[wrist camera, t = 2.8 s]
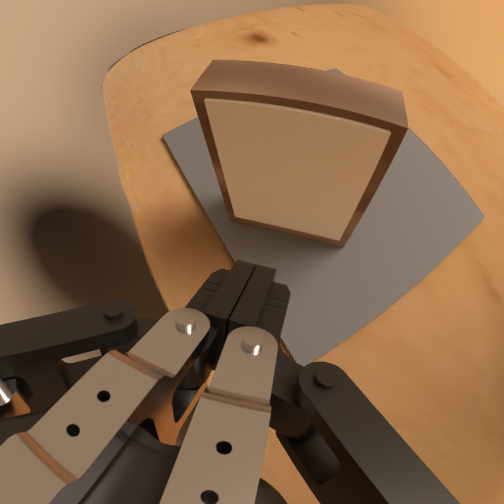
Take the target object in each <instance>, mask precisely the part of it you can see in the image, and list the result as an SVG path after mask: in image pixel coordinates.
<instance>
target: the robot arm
mask: <svg viewBox="0 0 504 504" xmlns="http://www.w3.org/2000/svg"><path fill="white" fill-rule="evenodd" d="M276 270H277V269H274V268H270V267H266V266H262V265H257V264H254V263H250V262H246V261H241V260H237V261H236V263H235V264H234V266H233V267H232V269H231V270H230V271H229V270H225V269H220V270H218V271H216V272H213V273H211V275H210V276H209V277H208V279H207V280H206V282H204V284H203V285H202V286H201V288H200V289H199V290H198V291H197V293H196V294H195V295H194V296H193V298H192V299H191V300H190V302H189V303H188V304H187V306H186V307H185V308H178V309H174V310H171V311H169V312H168V313H166V314H165V315H164V316H163V317H162V318H161V319H160V320H151V319H142V318H136V311H135V309H134V307H133V306H132V305H130V304H129V303H127V302H124V301H118V300H114V301H113V300H112V301H106V302H102V303H98V304H93V305H89V306H85V307H80V308H76V309H71V310H67V311H63V312H58V313H53V314H49V315H45V316H40V317H35V318H30V319H26V320H22V321H16V322H12V323H7V324H2V325H0V504H287V502H286V501H285V500H284V498H283V497H282V496H281V495H280V493H279V492H278V491H277V490H276V489H274V488H273V487H272V486H271V485H270V484H268V483H267V482H266V481H265V480H263V479H261V478H260V473H261V468H262V462H263V457H264V451H265V446H266V440H267V434H268V428H269V427H271V428H273V429H274V430H276V435H277V437H278V439H279V441H280V442H281V444H282V446H283V447H284V449H285V451H286V452H287V454H288V455H289V457H290V459H291V460H292V462H293V463H294V465H295V466H296V468H297V470H298V471H299V473H300V474H301V476H302V477H303V479H304V480H305V482H306V483H307V485H308V486H309V488H310V489H311V491H312V492H313V494H314V495H315V497H316V498H317V499H318V501H319V502H320V504H460V503H459V502H458V501H457V500H456V499H455V497H454V496H453V495H452V494H451V493H450V492H449V491H448V490H447V488H446V487H445V486H444V485H443V484H442V483H441V482H440V481H439V479H438V478H437V477H436V476H435V475H434V474H433V473H432V472H431V470H430V469H429V468H428V467H427V466H426V465H425V464H424V462H423V461H422V460H421V459H420V458H419V457H418V456H417V455H416V453H415V452H414V451H413V450H412V449H411V448H410V447H409V445H408V444H407V443H406V442H405V441H404V440H403V439H402V437H401V436H400V435H399V434H398V433H397V432H396V431H395V429H394V428H393V427H392V426H391V425H390V424H389V423H388V421H387V420H386V419H385V418H384V417H383V416H382V415H381V413H380V412H379V411H378V410H377V409H376V408H375V406H374V405H373V404H372V403H371V402H370V401H369V400H368V398H367V397H366V396H365V395H364V394H363V393H362V391H361V390H360V389H359V388H358V387H357V386H356V385H355V383H354V382H353V381H352V380H351V379H350V378H349V376H348V375H347V374H346V373H345V372H344V371H343V370H342V369H341V368H339V367H338V366H336V365H334V364H331V363H328V362H313V363H310V364H307V365H306V366H302V365H300V364H298V363H296V362H294V361H293V360H291V359H290V358H289V357H287V356H286V355H285V354H284V352H283V351H282V349H281V347H280V336H281V332H282V328H283V324H284V320H285V316H286V311H287V307H288V303H289V299H290V294H291V293H290V291H289V289H288V286H287V285H285V284H281V283H277V282H274V280H275V276H276ZM97 349H100V352H101V355H102V356H98V357H95V358H91V359H88V360H83V361H79V362H75V363H66V362H64V361H62V360H61V359H62V358H65V357H69V356H74V355H78V354H82V353H86V352H89V351H93V350H97ZM212 370H215V372H214V375H213V378H212V381H211V383H210V386H209V388H208V390H204V389H205V387H206V382H207V379H208V377H209V375H210V373H211V371H212ZM202 392H203V393H202ZM201 394H202V395H201ZM200 396H201V397H200ZM199 397H200V400H199V403H198V405H197V407H196V410H195V413H194V416H193V418H192V421H191V423H190V426H189V428H188V431H187V434H186V436H185V439H184V442H183V444H182V447H180V446H175V443H176V440H177V435H178V432H179V430H180V428H181V426H182V425H183V423H184V421H185V420H186V418H187V417H188V415H189V413H190V412H191V410H192V408H193V407H194V405H195V404H196V402H197V400H198V399H199Z"/></svg>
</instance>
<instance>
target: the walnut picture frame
mask: <svg viewBox="0 0 504 504" xmlns="http://www.w3.org/2000/svg"><path fill="white" fill-rule="evenodd" d="M190 91H191V94H192V98H193V101H194V104H195V108H196V111H197V114H198V118H199V121H200V124H201V128H202V131H203V134H204V138H205V141H206V144H207V147H208V151H209V154H210V157H211V161H212V164H213V167H214V170H215V174H216V177H217V180H218V183H219V187H220V190H221V193H222V196H223V199H224V203H225V206H226V209H227V212H228V215H229V219H230V221H232V222H237V223H241V224H246V225H250V226H255V227H259V228H264V229H268V230H272V231H277V232H281V233H285V234H290V235H294V236H298V237H302V238H307V239H311V240H315V241H319V242H323V243H327V244H331V245H336V246H340V247H344V246H345V244H346V243H347V241H348V239H349V238H350V236H351V234H352V233H353V231H354V229H355V228H356V226H357V224H358V223H359V221H360V219H361V217H362V216H363V214H364V212H365V210H366V209H367V207H368V205H369V203H370V202H371V200H372V198H373V196H374V194H375V193H376V191H377V189H378V187H379V185H380V183H381V181H382V180H383V178H384V176H385V174H386V172H387V170H388V168H389V166H390V164H391V162H392V160H393V159H394V157H395V155H396V153H397V151H398V149H399V147H400V145H401V143H402V140H403V138H404V136H405V134H406V132H407V130H408V123H407V116H406V109H405V103H404V98H403V92H402V91H399V90H396V89H393V88H390V87H387V86H384V85H380V84H377V83H373V82H370V81H366V80H362V79H359V78H355V77H351V76H346V75H342V74H337V73H333V72H328V71H323V70H317V69H312V68H306V67H299V66H292V65H285V64H276V63H266V62H254V61H238V60H213V61H212V62H211V63H210V65H209V66H208V67H207V68H206V70H205V71H204V72H203V74H202V75H201V76H200V78H199V79H198V80H197V82H196V83H195V84H194V86H193V87H192V89H191V90H190Z"/></svg>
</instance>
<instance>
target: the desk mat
mask: <svg viewBox="0 0 504 504" xmlns="http://www.w3.org/2000/svg"><path fill="white" fill-rule="evenodd" d="M328 72H333V73H337V74H342V75H345V74H343V73H342V72H340V71H339V70H337V69H332V70H328ZM162 136H163V138H164V140H165V142H166V144H167V145H168V147H169V149H170V151H171V153H172V154H173V156H174V158H175V160H176V161H177V163H178V165H179V167H180V169H181V170H182V172H183V174H184V176H185V177H186V179H187V181H188V183H189V184H190V186H191V188H192V190H193V191H194V193H195V195H196V197H197V198H198V200H199V202H200V204H201V205H202V207H203V209H204V210H205V212H206V214H207V216H208V217H209V219H210V221H211V223H212V224H213V226H214V228H215V229H216V231H217V233H218V234H219V236H220V238H221V240H222V241H223V243H224V245H225V246H226V248H227V250H228V251H229V253H230V255H231V257H232V258H233V260H234V262H235V263H236V261H237V260H241V261H246V262H250V263H254V264H257V265H262V266H266V267H270V268H274V269H277V270H276V276H275V280H274V282H277V283H281V284H285V285H287V286H288V289H289V291H290V293H291V294H290V299H289V303H288V307H287V311H286V316H285V320H284V324H283V328H282V332H281V336H280V338H281V339H282V341H283V342H284V344H285V346H286V347H287V349H288V350H289V352H290V354H291V355H292V357H293V358H294V360H295V362H296V363H298V364H300V365H302V366H306V365H307V364H309V363H311V362H313V361H314V360H316V359H317V358H319V357H320V356H322V355H323V354H325V353H326V352H328V351H329V350H331V349H332V348H334V347H335V346H337V345H338V344H340V343H341V342H343V341H344V340H345V339H347V338H348V337H350V336H351V335H353V334H354V333H355V332H357V331H358V330H359V329H361V328H362V327H364V326H365V325H366V324H368V323H369V322H370V321H372V320H373V319H374V318H375V317H377V316H378V315H379V314H381V313H382V312H383V311H384V310H386V309H387V308H388V307H390V306H391V305H392V304H393V303H394V302H396V301H397V300H398V299H399V298H401V297H402V296H403V295H404V294H405V293H407V292H408V291H409V290H410V289H411V288H412V287H414V286H415V285H416V284H417V283H418V282H419V281H420V280H422V279H423V278H424V277H425V276H426V275H427V274H428V273H429V272H430V271H431V270H433V269H434V268H435V267H436V266H437V265H438V264H439V263H440V262H441V261H442V260H443V259H444V258H445V257H446V256H447V255H448V254H449V253H450V252H451V251H452V250H453V249H454V248H455V247H456V246H457V245H458V244H459V243H460V242H461V241H462V240H463V239H464V238H465V237H466V236H467V235H468V234H469V233H470V232H471V231H472V230H473V229H474V228H475V226H476V225H477V224H478V223H479V222H480V221H481V220H482V219H483V218H484V215H483V214H482V212H481V211H480V209H479V208H478V207H477V205H476V204H475V202H474V201H473V200H472V198H471V197H470V196H469V194H468V193H467V192H466V190H465V189H464V188H463V187H462V185H461V184H460V183H459V182H458V180H457V179H456V178H455V177H454V176H453V174H452V173H451V172H450V171H449V170H448V168H447V167H446V166H445V165H444V164H443V163H442V162H441V160H440V159H439V158H438V157H437V156H436V155H435V154H434V153H433V152H432V151H431V150H430V148H429V147H428V146H427V145H426V144H425V143H424V142H423V141H422V140H421V139H420V138H419V137H418V136H417V135H416V134H415V133H414V132H413V131H412V130H411V129H410V128H409V127H408V130H407V132H406V134H405V136H404V138H403V140H402V143H401V145H400V147H399V149H398V151H397V153H396V155H395V157H394V159H393V160H392V162H391V164H390V166H389V168H388V170H387V172H386V174H385V176H384V178H383V180H382V181H381V183H380V185H379V187H378V189H377V191H376V193H375V194H374V196H373V198H372V200H371V202H370V203H369V205H368V207H367V209H366V210H365V212H364V214H363V216H362V217H361V219H360V221H359V223H358V224H357V226H356V228H355V229H354V231H353V233H352V234H351V236H350V238H349V239H348V241H347V243H346V244H345V246H344V247H340V246H336V245H331V244H327V243H323V242H319V241H315V240H311V239H307V238H302V237H298V236H294V235H290V234H285V233H281V232H277V231H272V230H268V229H264V228H259V227H255V226H250V225H246V224H241V223H237V222H232V221H230V219H229V215H228V212H227V209H226V206H225V203H224V199H223V196H222V193H221V190H220V187H219V183H218V180H217V177H216V174H215V170H214V167H213V164H212V161H211V157H210V154H209V151H208V147H207V144H206V141H205V138H204V134H203V131H202V128H201V124H200V121H199V118H198V117H197V118H195V119H193V120H191V121H189V122H187V123H185V124H183V125H181V126H179V127H177V128H175V129H173V130H171V131H169V132H167V133H165V134H163V135H162Z"/></svg>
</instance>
